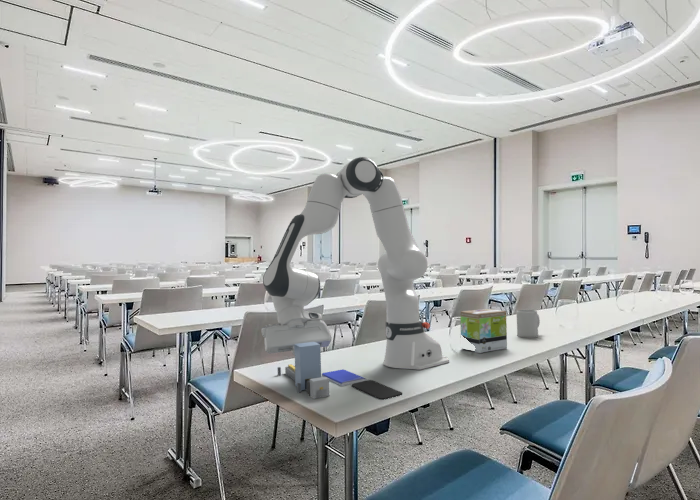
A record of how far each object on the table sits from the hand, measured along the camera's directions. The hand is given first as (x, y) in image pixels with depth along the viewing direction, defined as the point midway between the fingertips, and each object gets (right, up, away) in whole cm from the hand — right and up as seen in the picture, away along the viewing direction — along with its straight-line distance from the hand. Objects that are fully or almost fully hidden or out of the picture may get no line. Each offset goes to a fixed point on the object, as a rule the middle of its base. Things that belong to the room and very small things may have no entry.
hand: (304, 360), depth 120 cm
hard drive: (+11, -7, +4) cm, 14 cm away
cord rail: (0, -7, +1) cm, 7 cm away
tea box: (+65, -6, +39) cm, 76 cm away
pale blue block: (+2, -7, -3) cm, 7 cm away
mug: (+93, -6, +63) cm, 113 cm away
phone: (+20, -6, -8) cm, 23 cm away
